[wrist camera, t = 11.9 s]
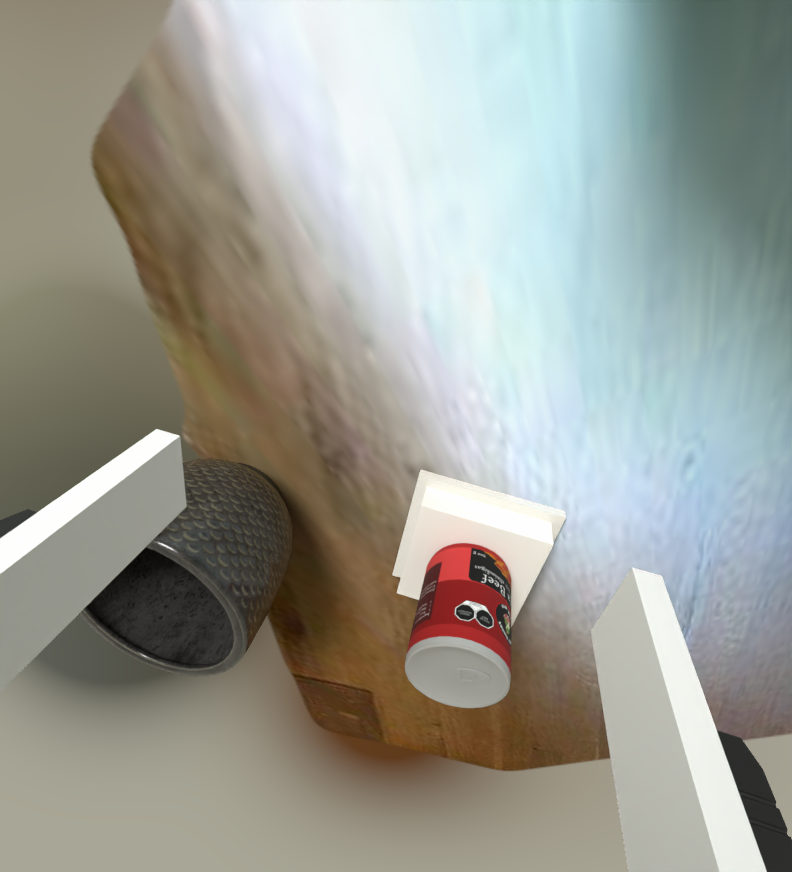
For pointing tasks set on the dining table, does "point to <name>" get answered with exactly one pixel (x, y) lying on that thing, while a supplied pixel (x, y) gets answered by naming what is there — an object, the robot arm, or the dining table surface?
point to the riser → (475, 532)
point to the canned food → (462, 628)
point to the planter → (201, 575)
